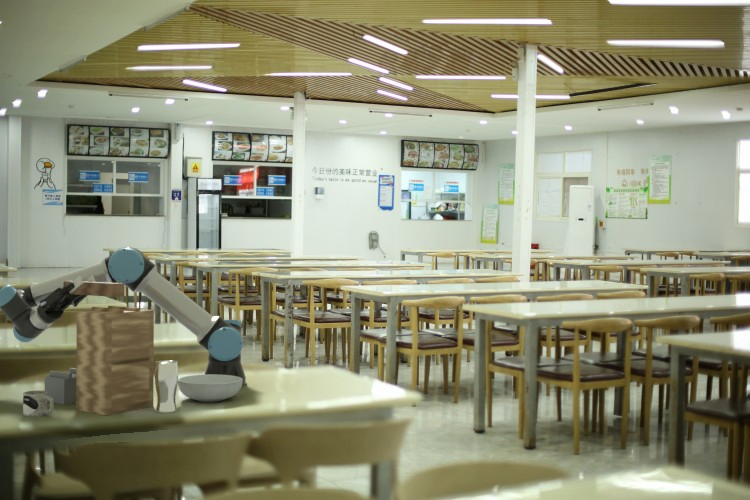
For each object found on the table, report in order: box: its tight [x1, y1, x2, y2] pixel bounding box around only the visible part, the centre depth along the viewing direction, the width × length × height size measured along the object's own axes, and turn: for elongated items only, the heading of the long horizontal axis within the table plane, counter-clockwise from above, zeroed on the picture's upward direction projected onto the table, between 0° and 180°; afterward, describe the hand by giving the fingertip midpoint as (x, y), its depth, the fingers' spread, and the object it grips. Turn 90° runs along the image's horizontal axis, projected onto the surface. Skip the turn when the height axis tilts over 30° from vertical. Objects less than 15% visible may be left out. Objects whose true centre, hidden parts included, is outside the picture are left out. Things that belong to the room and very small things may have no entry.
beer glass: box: [154, 359, 179, 414], centre depth 270 cm, size 7×7×15 cm
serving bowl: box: [177, 374, 243, 403], centre depth 291 cm, size 21×21×7 cm
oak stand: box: [75, 305, 155, 416], centre depth 274 cm, size 14×18×31 cm
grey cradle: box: [44, 367, 76, 406], centre depth 287 cm, size 10×12×10 cm
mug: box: [22, 389, 55, 418], centre depth 263 cm, size 10×7×7 cm, turn 68°
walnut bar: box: [64, 281, 125, 298], centre depth 279 cm, size 24×4×4 cm, turn 56°
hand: (87, 279), depth 280 cm, fingers closed on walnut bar, 4 cm apart
